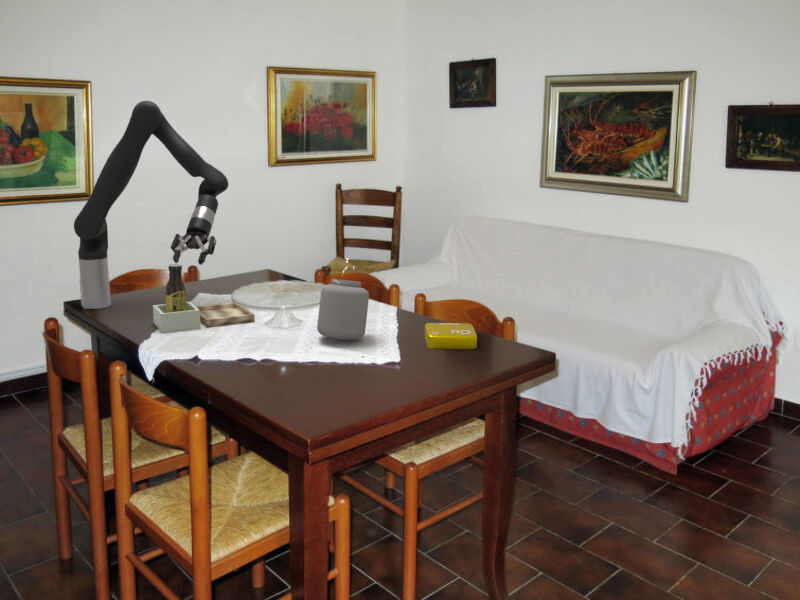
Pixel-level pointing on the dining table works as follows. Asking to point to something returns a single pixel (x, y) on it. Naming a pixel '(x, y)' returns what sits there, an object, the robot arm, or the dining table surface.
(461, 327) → the element tile
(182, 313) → the box
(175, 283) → the sauce bottle
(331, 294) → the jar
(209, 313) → the tray
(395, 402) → the dining table surface
